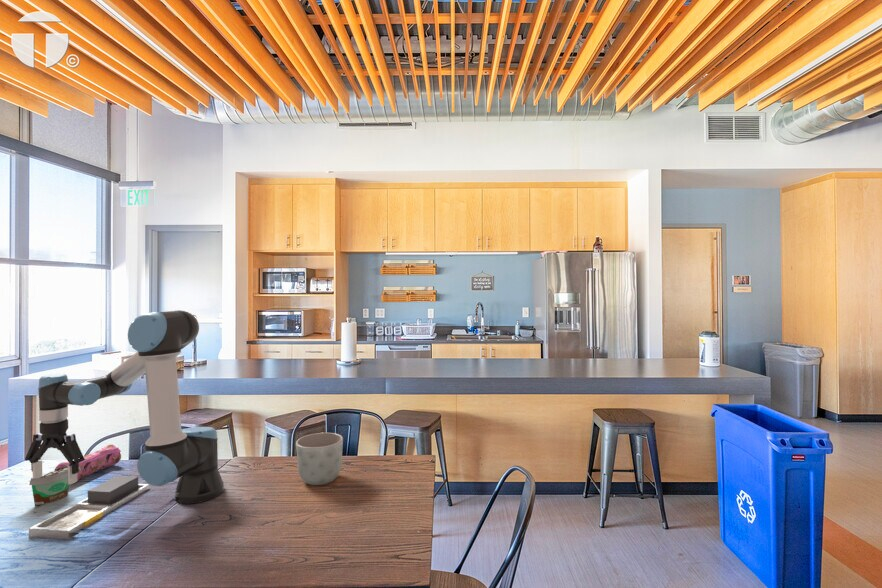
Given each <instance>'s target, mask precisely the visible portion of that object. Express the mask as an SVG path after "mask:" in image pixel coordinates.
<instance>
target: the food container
mask: <svg viewBox="0 0 882 588" xmlns="http://www.w3.org/2000/svg"><path fill="white" fill-rule="evenodd" d="M29 486H31V490H32V496H33V502H34V503H33V504H34V507H36V508H38V507H42V506H44V505H46V504H49V503H52V502H56V501H59V500H61V499H63V498H65V497H66V496H68V493H69V485H68V466H67V465H65V467H64V468H62V469H60V470H58V471H54V470H53V471H51V472H48V473H45V474H43V475H42V477H40V478H33V477H32V478H30V480H29Z"/></svg>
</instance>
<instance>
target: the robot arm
mask: <svg viewBox="0 0 882 588" xmlns="http://www.w3.org/2000/svg"><path fill="white" fill-rule="evenodd" d="M199 324H200V323H199V321H198V319H197V318H196V316H195V315H193V314H192V313H190V312H189V311H185V310H179V309H178V310H172V311H171V310H170V311H169V310H168V311H167V310H166V311H153V312H148V313H143V314H140V315H138V316H137V317H135V318H134V320H133V321H131V323H130V325H129V327H128V330H127V340H128V344H129V345H130V346H131V348H132V349H133V350H135V351H136V352H135V353H134V354H132V355H131V356H130V357H128V358H127V359H125V360H124V361H123V362H122V363H121V364H119V365H118V366H116V368H114V369H113V370H112V371H110V372H109V373H108V374H106V375H103V376H98V377H95V378H94V377H93V378H89V379H85V380H81V381H80V380H79V381H70V380H69V378H68V375H67V374H66V373H53V374H52V373H51V374H46V375H45V374H44V375H42V376H41V377H40V378H39V380H38V388H37V389H38V408H39V409H38V415H39V416H38V421H39V422H40V423H39V432H38V433H35V434H33V435H32V441H31V443H30V447H29V448H28V450H27V453H26V455H25V458H24V460H25V461H29V463H31V464H30V465H31V466H30V467H31V469H30V470H31V472H32V478H40V477H42V476H43V460H42V457H43V456H44V455H45V453H46V452H47V451H48V450H49V449H51V448H52V449H56V450H57V451H59V452H60V453H61V454H62V455H63V456H64V458H65V460H66V462H69V463H70V465H68V486H69V485H73V484H75V483H77V482H78V481H79V480H77V473H78V472H79V463H80V462H82V461H84V455H83V452H82V450H81V447H80V446H79V443H78V442H77V438H76V433H72V434H69V435H68V434H67V431H68V429H69V419H68V417H69V405H73V406H90V405H93V404H94V403H96V402H97V401H98V400H102V399H104V398H108V397H113V396H116V395H117V396H118V395H121V394H122V393H125V392H126V393H127V392H128V391H130V389H131V387H132V386H133V383H134V382H135V381H137V380H138V379H140V378H141V377H142V376H144V375H145V382H146V396H147V407H148V408H147V411H148V421H149V422H148V424H149V435H150V436H149V437H148V439H147V440H146V441H145V443H144V444H145V446H144V447H145V452H143V453H142V454H141V455H140V456H139V457H138V459H137V465H136V466H137V471H138V474H139V476H140V478H141V479H142V480H143V481H145V483H146V484H149V486H153V487H162V486H165V485H167V484H169V483H173V482H175V481H176V480H177V479H178V478H179V479H178V483H177V485H176V488H175V492H174V500H175V501H176V503H179V504H187V505H189V504H198V503H203V502H206V501H209V500H212V499H214V498H217V497H218V496H220V495H221V494H222V493H223V492H224V489H225V487H224V486H225V485H224V481H223V479H222V476H221V473H220V471H219V467H218V465H219V463H218V457H219V456H218V439H219V438H218V431H217V430H216V428H214V427H211V426H194V427H193V426H192V427H188V428H184V429H182V421H181V420H182V419H181V409H180V408H181V407H180V393H179V380H178V379H179V378H178V366H177V365H178V364H177V357H178V356H179V355H180V354H181V353H182V350H183V349H184V348H186V347H187V346H188V345H190V344H191V343H193V341H194V340H195V339H196V338H197V337H198V334H199V332H200V325H199Z"/></svg>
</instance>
